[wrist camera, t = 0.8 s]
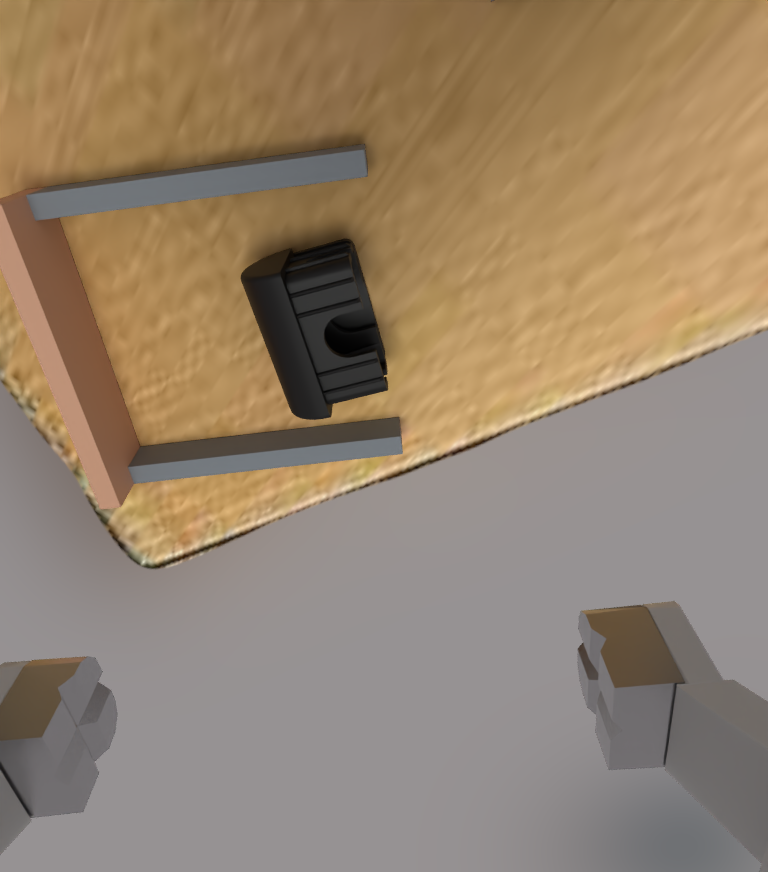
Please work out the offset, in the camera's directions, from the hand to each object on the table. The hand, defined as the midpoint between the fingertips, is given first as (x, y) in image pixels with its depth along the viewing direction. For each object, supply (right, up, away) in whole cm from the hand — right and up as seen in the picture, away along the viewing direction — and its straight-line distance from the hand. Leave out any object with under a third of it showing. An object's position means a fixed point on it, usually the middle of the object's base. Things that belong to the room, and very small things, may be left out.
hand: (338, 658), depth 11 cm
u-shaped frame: (-10, +12, +36) cm, 39 cm away
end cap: (-4, +13, +36) cm, 38 cm away
